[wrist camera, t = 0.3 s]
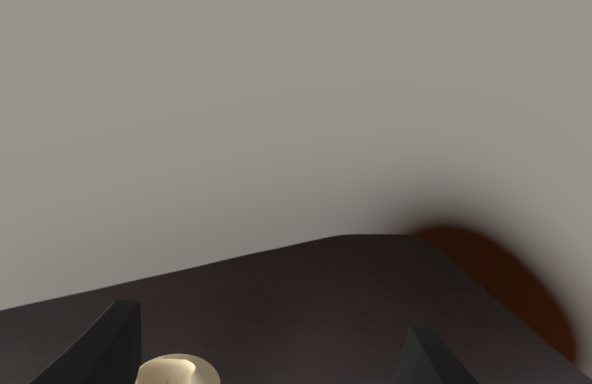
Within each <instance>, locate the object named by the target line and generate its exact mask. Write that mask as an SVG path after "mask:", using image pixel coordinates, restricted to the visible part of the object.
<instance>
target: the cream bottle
mask: <svg viewBox="0 0 592 384" xmlns="http://www.w3.org/2000/svg"><path fill="white" fill-rule="evenodd" d="M135 384H220V378H219V375H218V373H217V371H216V370H215V369H214V367H213V366H212V365H211V364H210V363H208V362H207V361H205V360H203V359H202V358H199V357H196V356H192V355H188V354H169V355H164V356H160V357H157V358H154V359H152V360H150V361H148V362H146V363H145V364H143V365H142V366H140V368H139V371H138V375H137V379H136V383H135Z"/></svg>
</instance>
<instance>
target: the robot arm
mask: <svg viewBox="0 0 592 384" xmlns="http://www.w3.org/2000/svg"><path fill="white" fill-rule="evenodd" d="M141 360H142V356H141V305H140V301H129V300H118V299H117V300H115V301H114V302H113V303H112V304H111V305H110V306H109V307H108V308H107V309H106V310H105V311H104V312H103V313H102V314H101V315H100V316H99V318H98V319H97V320H96V321H95V322H94V323H93V324H92V325H91V326H90V327H89V328H88V329H87V330H86V331H85V332H84V333H83V334H82V335H81V336H80V337H79V338H78V339H77V340H76V341H75V342H74V343H73V344H71V345H70V346H69V347H68V348H67V349H66V350H65V351H64V352H63V353H62V354H61V355H60V356H59V357H58V358H57V359H56V360H54V361H53V362H52V363H51V364H50V365H49V366H47V367H46V368H45V369H44V370H43V371H42V372H41V373H39V374H38V375H37V376H36V377H35V378H34V379H32V380H31V381H30V382H29V383H28V384H135V383H136V379H137V375H138V371H139V368H140V364H141ZM394 384H479V383H478V382H477V381H476V380H475V379H474V378H473V376H472V375H471V374H470V373H469V372H468V371H467V369H466V368H465V367H464V366H463V365H462V363H461V362H460V361H459V360H458V358H457V357H456V356H455V355H454V353H453V352H452V351H451V350H450V348H449V347H448V346H447V345H446V343H445V342H444V341H443V340H442V338H441V337H440V336H439V335H438V334H437V332H436V331H435V330H434V329H433V327H430V326H419V325H410V326H409V329H408V333H407V336H406V340H405V343H404V347H403V350H402V354H401V357H400V360H399V364H398V367H397V371H396V374H395V378H394Z"/></svg>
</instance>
